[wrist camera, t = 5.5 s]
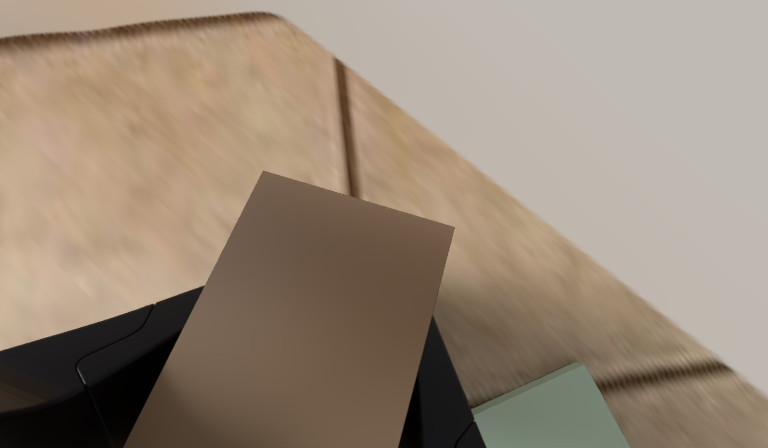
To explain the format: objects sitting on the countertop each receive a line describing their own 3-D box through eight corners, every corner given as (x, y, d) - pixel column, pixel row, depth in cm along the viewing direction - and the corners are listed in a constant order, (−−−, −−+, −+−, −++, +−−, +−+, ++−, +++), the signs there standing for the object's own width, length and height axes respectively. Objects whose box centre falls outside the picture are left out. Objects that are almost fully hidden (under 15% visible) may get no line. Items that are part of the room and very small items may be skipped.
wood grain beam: (376, 407, 14) (344, 652, 4) (300, 379, 15) (83, 527, 4) (410, 287, 16) (455, 227, 5) (342, 265, 16) (263, 170, 6)
